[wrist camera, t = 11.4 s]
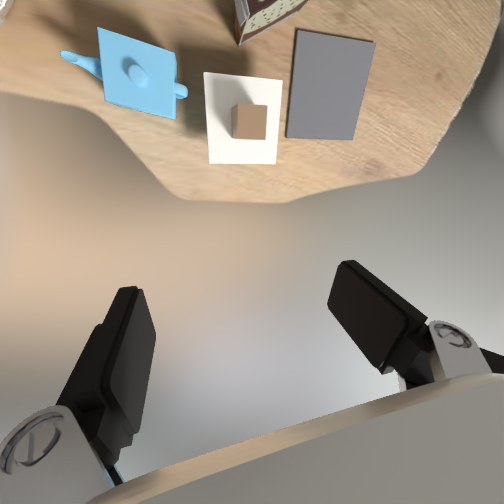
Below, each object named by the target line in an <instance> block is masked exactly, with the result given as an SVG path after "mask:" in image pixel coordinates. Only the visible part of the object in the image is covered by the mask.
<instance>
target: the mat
mask: <svg viewBox="0 0 504 504" xmlns="http://www.w3.org/2000/svg"><path fill="white" fill-rule="evenodd" d="M375 46H376V43H371V42H365V41H360V40H354V39H348V38H342V37H336V36H330V35H324V34H318V33H312V32H306V31H301V30H298V31H297V32H296V42H295V52H294V62H293V72H292V81H291V91H290V101H289V111H288V121H287V131H286V138H302V139H329V140H353V136H354V132H355V128H356V123H357V119H358V115H359V111H360V107H361V103H362V99H363V95H364V91H365V87H366V83H367V79H368V75H369V71H370V66H371V62H372V58H373V54H374V50H375Z"/></svg>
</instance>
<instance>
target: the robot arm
mask: <svg viewBox="0 0 504 504" xmlns="http://www.w3.org/2000/svg"><path fill="white" fill-rule="evenodd" d="M12 4H13V0H0V20H1V19H2V18H3V17H4V16H6V15H7V13H8V11H9V10H10V8H11V6H12ZM327 305H328V308H329V310H330V311H331V312H332V313H333V315H334V316H335V318H336V319H337V320H338V322H339V323H340V324H341V325H342V327H343V328H344V329H345V331H346V332H347V333H348V334H349V336H350V337H351V338H352V340H353V341H354V342H355V344H356V345H357V346H358V347H359V349H360V350H361V351H362V352H363V354H364V355H365V356H366V358H367V359H368V360H369V361H370V363H371V364H372V365H373V366H374V367H375V368H377V369H378V370H379V371H380V373H381V374H382V375H383V374H387V373H390V372H392V371H393V370H394V369H395V370H396V372H397V373H398V380H399V388H400V393H396V394H393V395H390V396H386V397H383V398H380V399H377V400H373V401H370V402H367V403H364V404H360V405H357V406H354V407H351V408H348V409H344V410H341V411H338V412H335V413H332V414H328V415H325V416H322V417H319V418H315V419H312V420H309V421H306V422H303V423H299V424H296V425H293V426H290V427H287V428H284V429H281V430H277V431H274V432H271V433H268V434H265V435H262V436H258V437H256V438H252V439H249V440H246V441H243V442H240V443H237V444H233V445H230V446H227V447H224V448H221V449H218V450H215V451H211V452H209V453H205V454H203V455H200V456H197V457H194V458H191V459H188V460H185V461H182V462H179V463H176V464H173V465H170V466H167V467H164V468H161V469H158V470H155V471H153V472H151V473H148V474H145V475H143V476H140V477H138V478H135V479H133V480H130V481H128V482H124V480H123V478H122V476H121V474H120V473H119V471H118V469H117V467H116V466H115V463H116V462H117V461H118V459H119V454H120V450H121V448H123V447H127V446H131V444H132V440H133V435H134V434H135V433H138V432H139V429H140V425H141V419H142V414H143V408H144V403H145V397H146V392H147V386H148V380H149V375H150V368H151V364H152V358H153V353H154V347H155V341H156V332H155V329H154V325H153V322H152V319H151V315H150V312H149V309H148V306H147V302H146V299H145V296H144V293H143V290H142V289H138V288H137V287H136V286H131V287H122V288H119V290H118V292H117V294H116V296H115V298H114V300H113V302H112V304H111V307H110V309H109V311H108V313H107V315H106V317H105V319H104V321H103V323H102V324H98V325H97V326H96V327H95V328H94V330H93V332H92V333H91V335H90V338H89V339H88V341H87V343H86V345H85V347H84V349H83V351H82V353H81V355H80V357H79V359H78V361H77V363H76V365H75V368H74V369H73V371H72V373H71V375H70V377H69V379H68V381H67V383H66V385H65V387H64V389H63V391H62V393H61V395H60V397H59V399H58V401H57V403H56V405H55V406H50V407H47V408H45V409H42V410H40V411H38V412H36V413H34V414H33V415H31V416H29V417H28V418H26V419H25V420H24V421H22V422H21V423H20V424H19V425H18V426H16V427H15V428H14V429H13V430H12V431H11V432H10V433H9V434H8V435H7V437H5V438H4V440H3V441H2V442H1V444H0V504H504V356H502V355H499V354H496V353H493V352H491V351H487V350H485V349H482V348H479V347H478V345H477V343H476V342H475V341H474V339H473V338H472V337H471V336H470V335H469V334H467V333H466V332H465V331H463V330H462V329H461V328H459V327H457V326H454V325H453V324H450V323H447V322H444V321H432V322H431V323H430V324H429V325H428V326H427V325H426V324H425V321H426V320H427V318H428V317H426V316H425V315H424V314H423V313H421V312H420V311H419V310H418V309H416V308H415V307H414V306H413V305H411V304H410V303H409V302H407V301H406V300H405V299H403V298H402V297H401V296H400V295H399V294H397V293H396V292H395V291H393V290H392V289H391V288H390V287H388V286H387V285H386V284H385V283H383V282H382V281H381V280H379V279H378V278H377V277H376V276H374V275H373V274H372V273H371V272H369V271H368V270H367V269H365V268H364V267H363V266H362V265H360V264H359V263H358V262H356V261H355V260H347V261H342V262H341V264H340V265H339V266H338V268H337V272H336V275H335V278H334V282H333V285H332V288H331V292H330V295H329V299H328V302H327Z"/></svg>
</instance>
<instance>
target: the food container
mask: <svg viewBox="0 0 504 504" xmlns="http://www.w3.org/2000/svg"><path fill="white" fill-rule="evenodd" d="M309 1H310V0H235V11H234V31H235V36H236V40H237V44H238V47H239V46H240V45H242V44H244V43H245V42H247V41H249V40H251V39H252V38H254V37H256V36H258V35H259V34H261V33H263V32H265V31H266V30H268V29H270V28H272V27H273V26H275V25H277V24H278V23H280V22H282V21H284V20H285V19H287V18H289V17H291V16H292V15H294V14H296V13H298V12H299V11H300V10H301V9H302V8H303V7H304V6H305V5H306V4H307V3H308V2H309Z"/></svg>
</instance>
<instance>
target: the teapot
mask: <svg viewBox="0 0 504 504" xmlns="http://www.w3.org/2000/svg"><path fill="white" fill-rule="evenodd" d="M97 32H98V41H99V50H100V58H96V57H88V56H83V55H79V54H76V53H73V52H70V51H61V52H60V55H61V57H62V58H64V59H65V60H67V61H69V62H71V63H74V64H76V65H79V66H81V67H83V68H85V69H86V70H88V71H89V72H90V73H92V74H93V75H94V76H96V77H97V78H98V79H100V80H102V81H103V88H104V97H105V101H106V102H109V103H112V104H115V105H117V106H120V107H125V108H129V109H133V110H137V111H141V112H145V113H149V114H153V115H158V116H162V117H166V118H170V119H174V120H176V105H177V98H179V99H183V98H186V97H187V94H188V90H187V87H186V86H184V85H182V84H179V83H177V67H178V66H177V62H176V57H175V53H174V52H171V51H168V50H165V49H162V48H159V47H156V46H153V45H150V44H147V43H145V42H142V41H139V40H136V39H133V38H130V37H127V36H124V35H121V34H118V33H115V32H112V31H109V30H106V29H103V28H100V27H97Z"/></svg>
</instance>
